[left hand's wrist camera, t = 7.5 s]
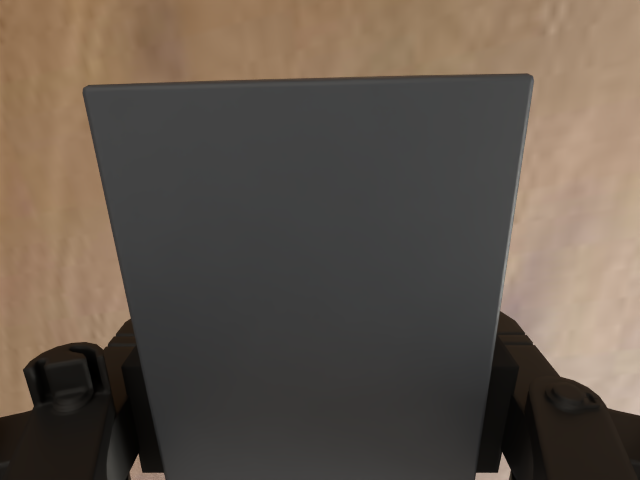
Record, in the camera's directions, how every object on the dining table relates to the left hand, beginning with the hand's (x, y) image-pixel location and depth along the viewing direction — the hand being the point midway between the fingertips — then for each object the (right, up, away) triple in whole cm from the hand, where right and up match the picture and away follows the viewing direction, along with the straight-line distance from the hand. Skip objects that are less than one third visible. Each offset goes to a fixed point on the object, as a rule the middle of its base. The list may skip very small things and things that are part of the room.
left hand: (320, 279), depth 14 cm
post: (+1, -32, +13) cm, 34 cm away
